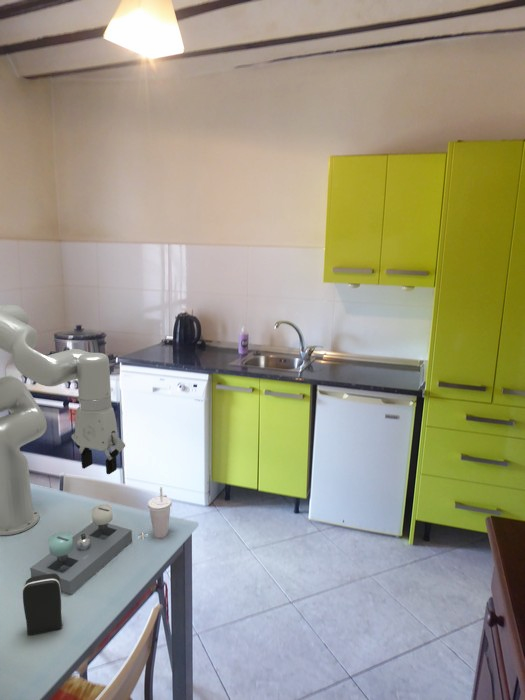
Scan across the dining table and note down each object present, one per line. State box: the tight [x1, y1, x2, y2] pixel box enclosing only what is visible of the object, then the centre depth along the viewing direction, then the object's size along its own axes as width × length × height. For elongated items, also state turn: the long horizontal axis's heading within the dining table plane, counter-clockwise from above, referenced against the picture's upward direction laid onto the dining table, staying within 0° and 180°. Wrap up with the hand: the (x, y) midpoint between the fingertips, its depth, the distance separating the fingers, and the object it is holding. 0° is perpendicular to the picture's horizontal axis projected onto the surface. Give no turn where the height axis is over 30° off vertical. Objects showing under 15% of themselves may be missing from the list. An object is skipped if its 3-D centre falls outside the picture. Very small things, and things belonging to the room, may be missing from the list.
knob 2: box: [91, 503, 113, 531], centre depth 124 cm, size 5×5×6 cm
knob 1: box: [48, 531, 73, 562], centre depth 112 cm, size 5×5×6 cm
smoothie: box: [147, 486, 173, 539], centre depth 129 cm, size 6×6×14 cm
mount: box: [29, 521, 133, 596], centre depth 119 cm, size 12×22×4 cm, turn 158°
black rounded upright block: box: [22, 573, 64, 636], centre depth 97 cm, size 7×4×11 cm, turn 108°
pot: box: [77, 534, 91, 551], centre depth 118 cm, size 3×3×4 cm
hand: (99, 468), depth 121 cm, fingers open, 7 cm apart
